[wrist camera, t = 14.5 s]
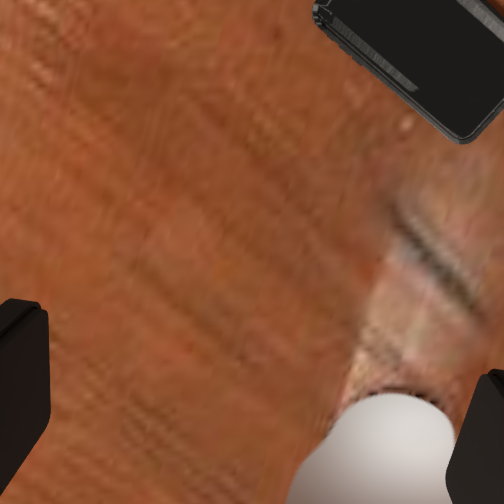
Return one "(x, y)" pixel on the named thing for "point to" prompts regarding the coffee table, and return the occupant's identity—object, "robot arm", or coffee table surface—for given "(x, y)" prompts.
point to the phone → (427, 55)
